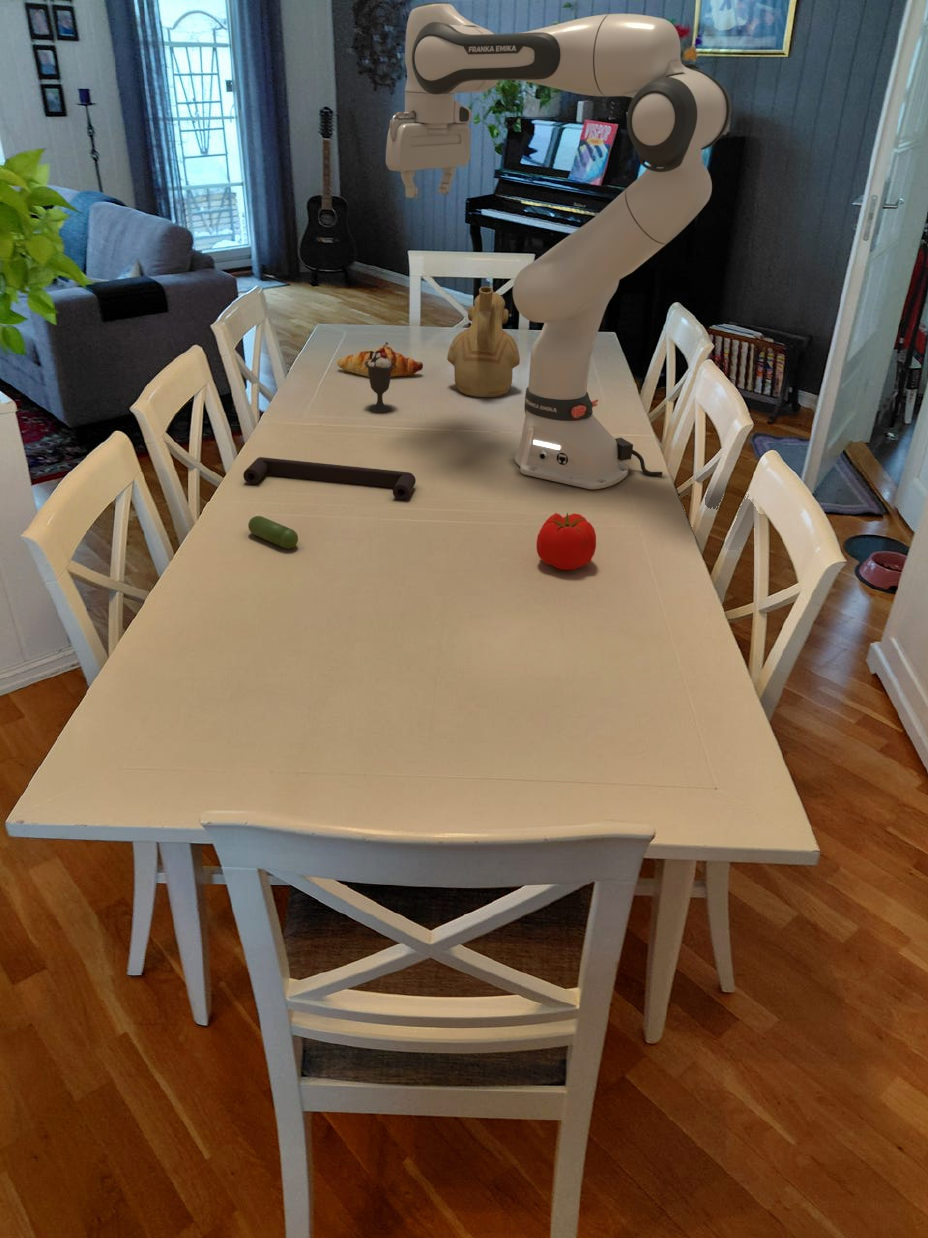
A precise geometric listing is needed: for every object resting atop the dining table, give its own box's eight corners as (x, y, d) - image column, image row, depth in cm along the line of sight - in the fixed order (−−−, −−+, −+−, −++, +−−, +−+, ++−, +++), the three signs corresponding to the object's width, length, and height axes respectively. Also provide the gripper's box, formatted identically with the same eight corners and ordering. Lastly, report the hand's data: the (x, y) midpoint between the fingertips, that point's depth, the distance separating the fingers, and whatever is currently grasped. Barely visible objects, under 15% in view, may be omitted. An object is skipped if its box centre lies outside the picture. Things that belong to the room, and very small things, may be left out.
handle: (243, 483, 168) (242, 468, 167) (255, 471, 174) (254, 455, 172) (408, 501, 165) (409, 485, 163) (415, 487, 170) (416, 472, 169)
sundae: (394, 414, 204) (394, 345, 196) (363, 413, 204) (362, 343, 196) (396, 404, 209) (396, 337, 202) (366, 403, 209) (365, 335, 202)
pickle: (302, 547, 148) (301, 529, 146) (288, 554, 146) (286, 535, 144) (259, 528, 153) (258, 510, 151) (244, 535, 151) (243, 517, 149)
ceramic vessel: (519, 380, 229) (527, 273, 216) (514, 405, 212) (522, 292, 199) (451, 375, 230) (454, 269, 217) (440, 400, 213) (444, 286, 200)
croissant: (336, 387, 229) (331, 363, 222) (341, 358, 234) (337, 333, 227) (422, 390, 228) (420, 366, 221) (425, 361, 233) (424, 336, 226)
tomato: (578, 547, 152) (583, 505, 148) (601, 573, 145) (607, 529, 141) (524, 553, 149) (528, 510, 145) (545, 579, 142) (550, 535, 138)
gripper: (404, 112, 158) (404, 201, 165) (477, 111, 172) (474, 193, 179) (377, 110, 161) (377, 197, 168) (451, 109, 175) (448, 189, 182)
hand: (428, 195), depth 174 cm, fingers open, 8 cm apart
